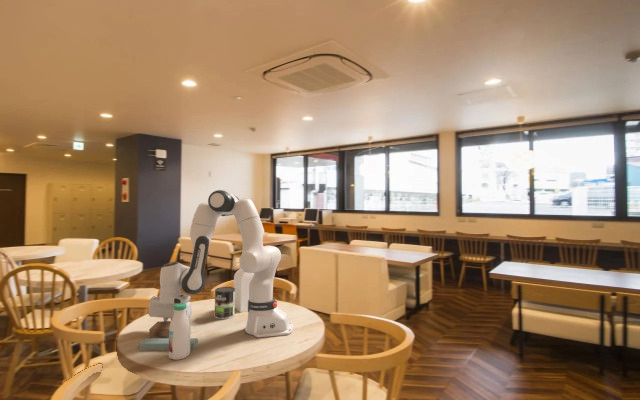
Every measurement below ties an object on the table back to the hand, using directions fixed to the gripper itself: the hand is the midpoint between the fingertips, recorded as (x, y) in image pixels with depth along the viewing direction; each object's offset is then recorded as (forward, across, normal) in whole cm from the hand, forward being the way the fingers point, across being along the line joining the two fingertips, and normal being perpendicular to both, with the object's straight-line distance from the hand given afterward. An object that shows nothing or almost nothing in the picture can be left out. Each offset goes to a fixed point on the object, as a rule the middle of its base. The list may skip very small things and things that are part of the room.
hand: (169, 327), depth 150 cm
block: (+2, +1, -6) cm, 6 cm away
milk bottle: (+2, +19, -21) cm, 28 cm away
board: (+2, +10, -15) cm, 19 cm away
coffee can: (+2, +16, +23) cm, 28 cm away
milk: (+2, +22, +38) cm, 44 cm away
